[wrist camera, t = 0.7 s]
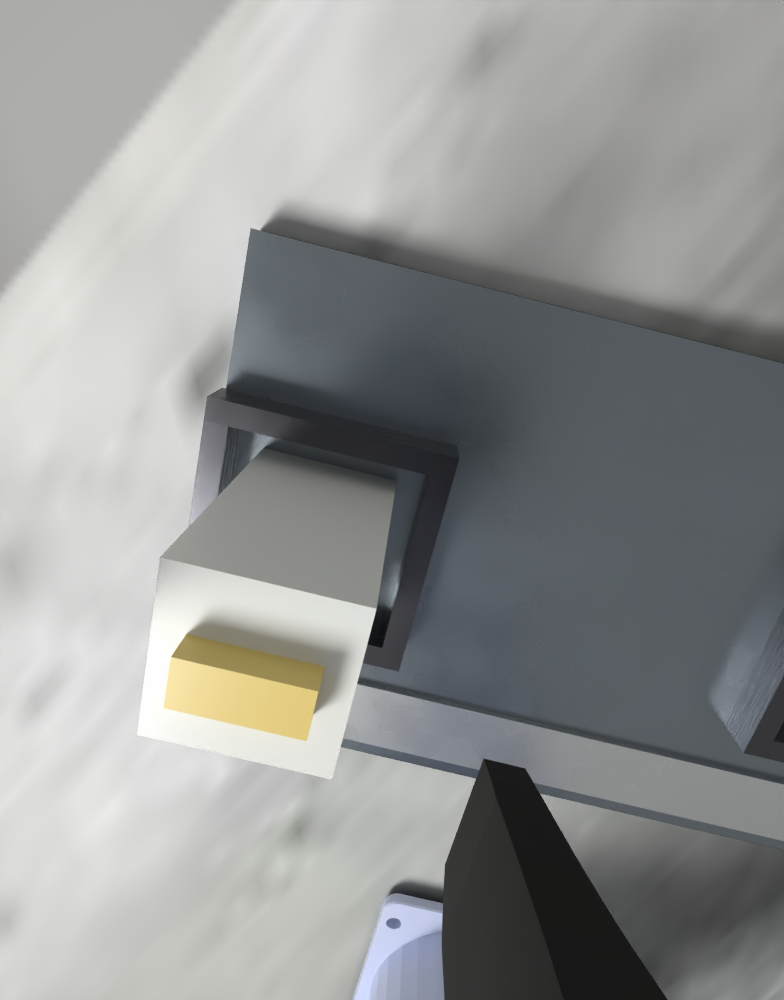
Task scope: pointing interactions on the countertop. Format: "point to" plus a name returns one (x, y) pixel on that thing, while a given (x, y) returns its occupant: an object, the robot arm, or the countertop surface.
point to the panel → (537, 529)
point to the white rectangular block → (268, 614)
